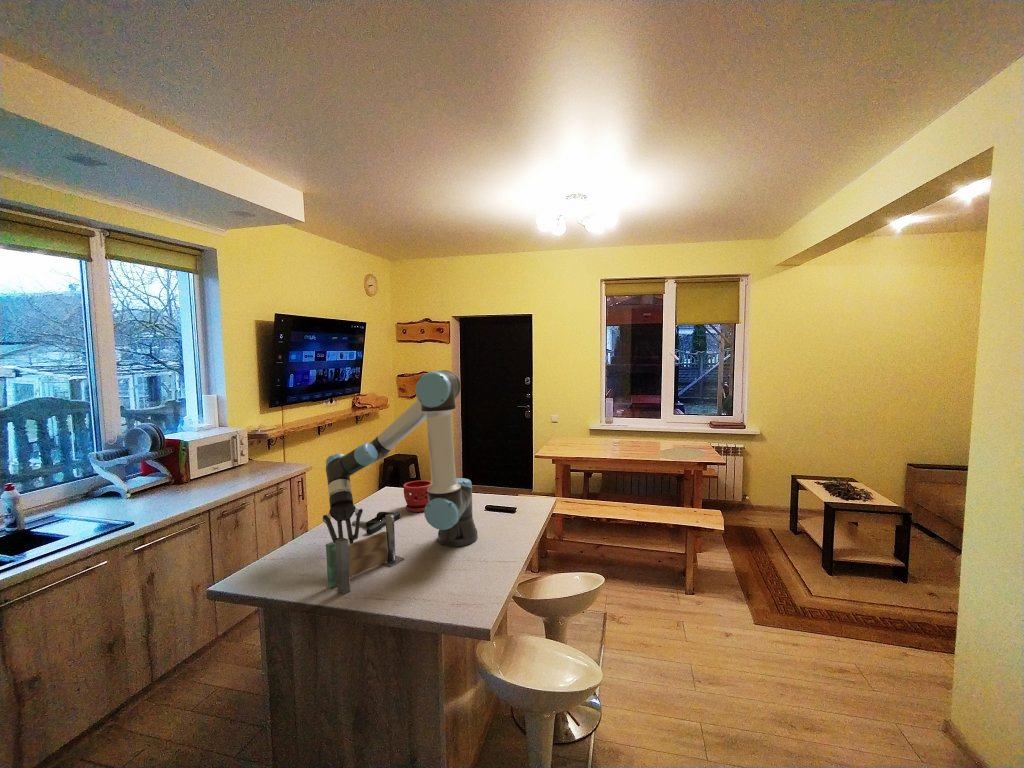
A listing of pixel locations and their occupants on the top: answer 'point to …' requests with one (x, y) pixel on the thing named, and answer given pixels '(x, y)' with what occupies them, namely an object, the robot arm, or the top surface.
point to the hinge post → (391, 542)
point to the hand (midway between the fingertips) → (348, 561)
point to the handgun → (377, 522)
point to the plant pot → (416, 495)
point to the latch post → (342, 566)
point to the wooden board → (358, 556)
